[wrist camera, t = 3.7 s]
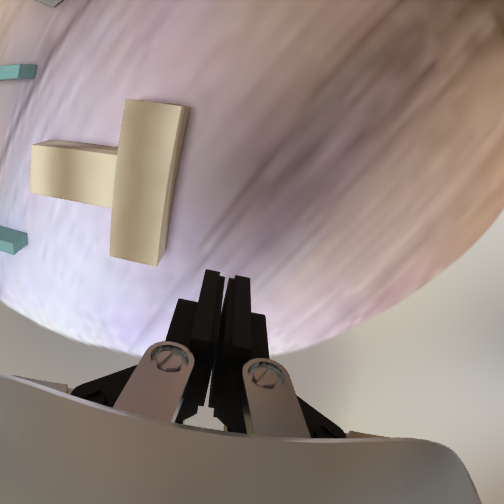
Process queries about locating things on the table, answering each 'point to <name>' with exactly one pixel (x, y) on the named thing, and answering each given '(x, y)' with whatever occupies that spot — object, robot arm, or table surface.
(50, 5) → the skincare box
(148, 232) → the tee block
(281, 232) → the table surface
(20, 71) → the dock
